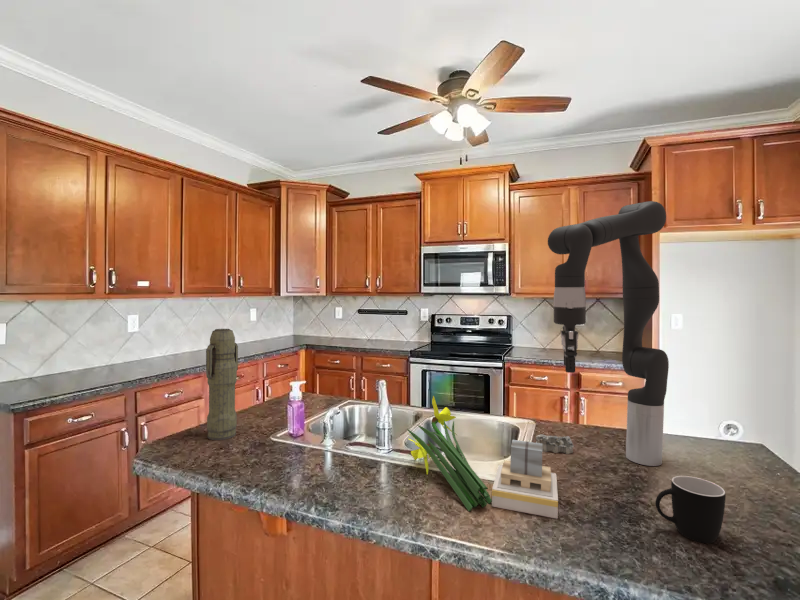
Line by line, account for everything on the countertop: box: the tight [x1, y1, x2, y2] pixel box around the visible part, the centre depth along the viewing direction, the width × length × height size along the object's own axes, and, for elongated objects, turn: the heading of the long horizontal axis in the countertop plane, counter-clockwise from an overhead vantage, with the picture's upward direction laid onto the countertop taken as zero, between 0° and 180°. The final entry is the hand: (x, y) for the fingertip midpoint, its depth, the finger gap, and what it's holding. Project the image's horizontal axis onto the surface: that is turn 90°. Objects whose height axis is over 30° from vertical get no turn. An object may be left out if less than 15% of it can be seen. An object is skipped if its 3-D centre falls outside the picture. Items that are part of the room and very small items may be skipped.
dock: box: [491, 464, 559, 519], centre depth 98 cm, size 14×14×4 cm
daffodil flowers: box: [406, 395, 492, 513], centre depth 107 cm, size 17×15×35 cm
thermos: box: [205, 328, 239, 441], centre depth 135 cm, size 9×12×35 cm
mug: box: [655, 475, 726, 544], centre depth 84 cm, size 12×9×10 cm
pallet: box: [501, 439, 552, 492], centre depth 98 cm, size 8×11×8 cm
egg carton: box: [535, 433, 575, 455], centre depth 129 cm, size 11×8×4 cm
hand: (569, 368), depth 104 cm, fingers open, 8 cm apart
